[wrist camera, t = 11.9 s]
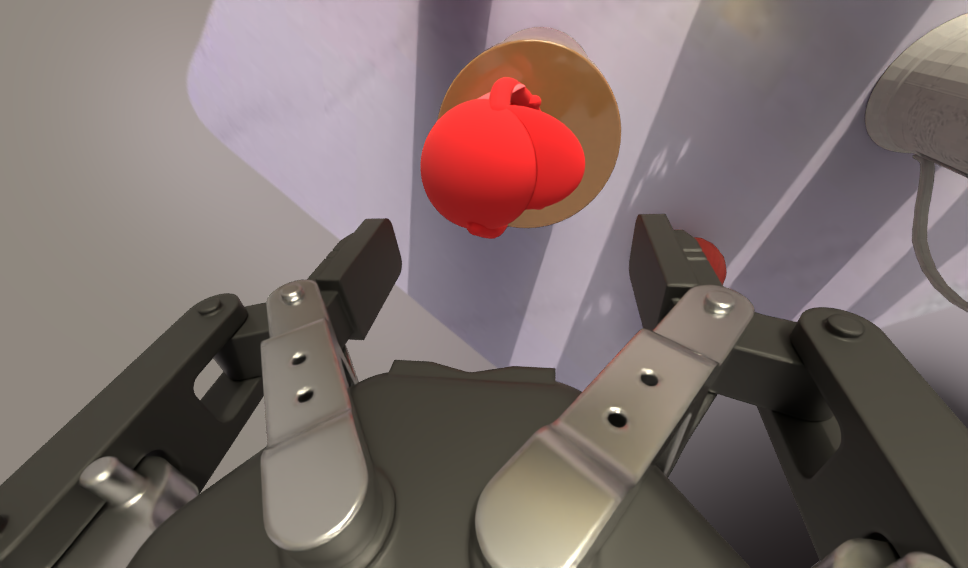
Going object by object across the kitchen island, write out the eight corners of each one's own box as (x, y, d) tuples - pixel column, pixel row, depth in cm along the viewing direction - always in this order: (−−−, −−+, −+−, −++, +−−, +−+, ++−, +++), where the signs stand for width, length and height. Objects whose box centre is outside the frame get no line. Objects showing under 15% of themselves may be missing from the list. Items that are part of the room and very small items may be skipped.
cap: (480, 230, 22) (432, 279, 17) (429, 133, 20) (360, 158, 15) (615, 175, 18) (601, 220, 13) (566, 46, 16) (529, 43, 11)
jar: (481, 159, 33) (448, 234, 23) (468, 29, 27) (415, 51, 17) (593, 154, 31) (611, 233, 21) (605, 14, 26) (637, 29, 15)
